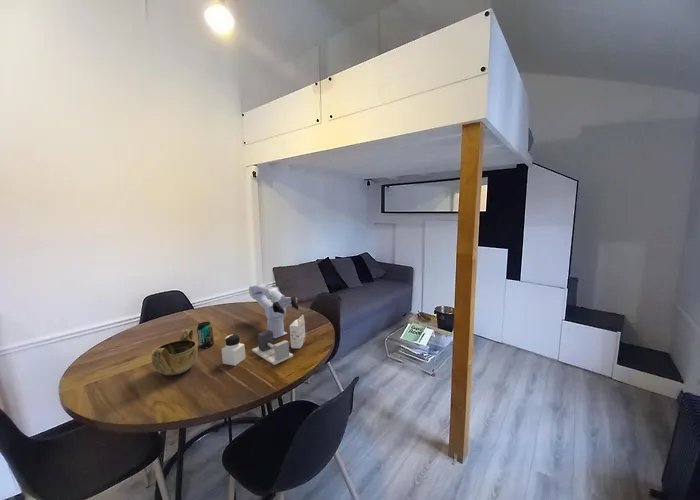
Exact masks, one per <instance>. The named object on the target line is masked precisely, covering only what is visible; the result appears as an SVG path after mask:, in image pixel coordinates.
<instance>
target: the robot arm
mask: <svg viewBox="0 0 700 500" xmlns="http://www.w3.org/2000/svg"><path fill="white" fill-rule="evenodd" d="M248 293H249V296H250V297H251V298H252V299H253V300H255V301H256V302H257V304H259V306H261V307H262V308H263V309H264V316H265V317H266V319H267V321H266V329H267V330H270V331H272V332H273V339H277V338H279V337H282V336H285V335H287V334H288V332H286V331H285V328H284V327H285V326H284V319H285V317H286V315H287V309H286V308H287V307H288V306H289V307H290V305H291V307H292V308H293V309H295V310H299V305H298V297H296V296H291V297H289V296H288V297H287V296H285V294H282V293H281V290H280V287H278V286H275V287H273V286H270V284H266V283H261V284H255V285H249V288H248ZM267 330H266V331H267Z"/></svg>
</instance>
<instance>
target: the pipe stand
mask: <svg viewBox="0 0 700 500" xmlns="http://www.w3.org/2000/svg"><path fill="white" fill-rule="evenodd" d="M266 345H268V346H270V347H271V348H269V349H267V350H265V351H262V350H260V349H259V346H257V347H254V348H252V349H251V351H252V352H253V353H254V354H256V355H258V356H259V357H261V358H263V359H264V360H265V361H267V362H268V363H271V364H272V365H274V366H276V365H278V364H279V363H281V362H282V363H283V362H284V361H286V360H289V359H291V358H293V357H294V354H293V353H291V352H290V346H289V345H290V344H289V341H288V340H285V339H284V340H283V341H280V342H278V343H274V345H272V344H271V343H269V342H266Z"/></svg>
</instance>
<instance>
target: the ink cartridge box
mask: <svg viewBox="0 0 700 500" xmlns="http://www.w3.org/2000/svg"><path fill="white" fill-rule="evenodd" d="M305 325H306V323H305V315H304V314H302V315H301V316H300V317H299V318H298V319H294V321H293V322H292V323H291V324H290V325H289V338H290V348H291V349H301V348H302V347H303V345H304V344H305V343H306V340H307V339H306V338H307V337H306V326H305Z"/></svg>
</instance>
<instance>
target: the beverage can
mask: <svg viewBox="0 0 700 500" xmlns="http://www.w3.org/2000/svg"><path fill="white" fill-rule="evenodd" d="M196 327H197V328H196V335H197V343H198V347H199V348H200V349H207V348H206V347H209V348H211V347H212V346H213V345H214V343H215V339H214V331H213V325H212V323H211V322H210V321H203V322H202V321H201V322H199V323H198V324H197V326H196ZM210 346H211V347H210Z"/></svg>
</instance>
